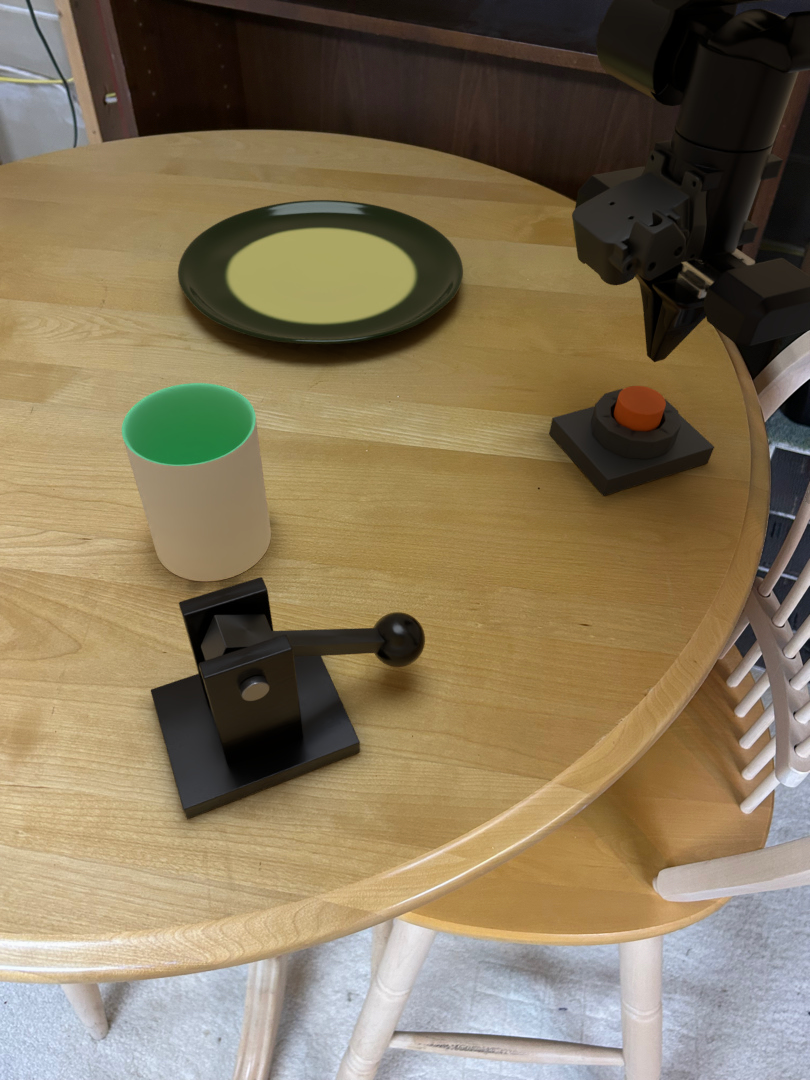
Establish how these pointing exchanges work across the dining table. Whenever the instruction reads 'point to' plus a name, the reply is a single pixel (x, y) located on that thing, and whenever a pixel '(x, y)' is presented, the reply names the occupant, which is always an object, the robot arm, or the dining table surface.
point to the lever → (321, 638)
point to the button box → (627, 446)
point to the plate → (320, 272)
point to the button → (639, 408)
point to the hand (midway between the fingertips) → (655, 358)
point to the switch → (247, 710)
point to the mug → (200, 479)
